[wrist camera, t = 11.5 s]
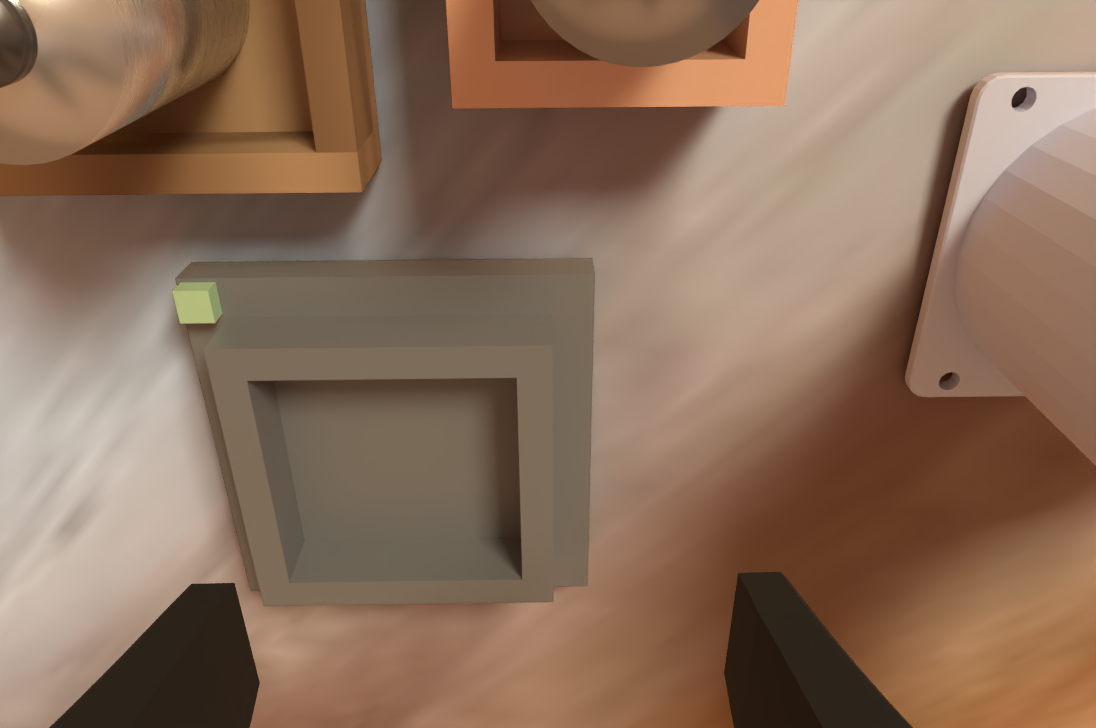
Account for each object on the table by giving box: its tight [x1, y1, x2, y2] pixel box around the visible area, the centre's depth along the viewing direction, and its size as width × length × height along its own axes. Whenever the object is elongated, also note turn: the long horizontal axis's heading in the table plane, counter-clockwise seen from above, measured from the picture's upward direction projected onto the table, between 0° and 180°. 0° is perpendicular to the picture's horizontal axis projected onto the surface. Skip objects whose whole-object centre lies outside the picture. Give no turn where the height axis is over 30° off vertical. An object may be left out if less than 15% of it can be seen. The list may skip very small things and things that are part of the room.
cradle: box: [172, 258, 595, 606], centre depth 21 cm, size 10×10×3 cm
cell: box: [0, 0, 250, 165], centre depth 13 cm, size 4×4×6 cm
